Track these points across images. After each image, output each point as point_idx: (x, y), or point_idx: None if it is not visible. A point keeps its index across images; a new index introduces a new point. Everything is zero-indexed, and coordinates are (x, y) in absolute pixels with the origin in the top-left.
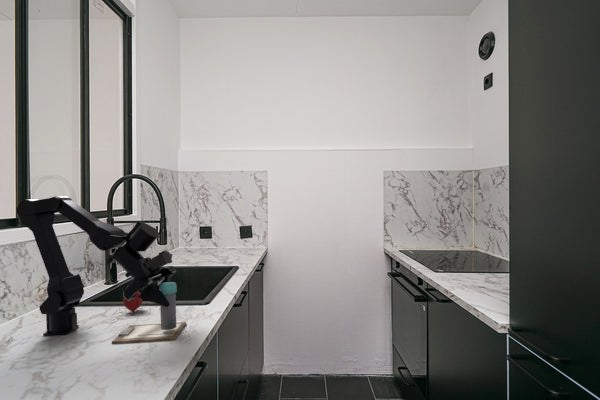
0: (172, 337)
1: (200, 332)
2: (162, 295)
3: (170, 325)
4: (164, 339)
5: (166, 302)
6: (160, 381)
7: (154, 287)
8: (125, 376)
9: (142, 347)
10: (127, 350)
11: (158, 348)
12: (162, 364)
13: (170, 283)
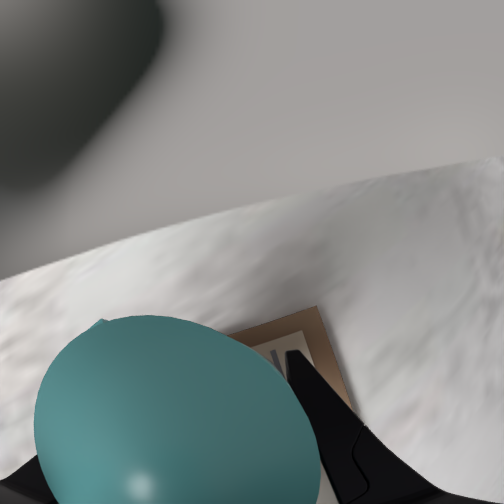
0: (317, 320)
1: (209, 244)
2: (337, 420)
3: (270, 361)
4: (332, 352)
5: (314, 370)
6: None
7: (466, 499)
8: None
9: (409, 396)
10: (438, 429)
11: (405, 322)
12: (481, 223)
13: (129, 417)
